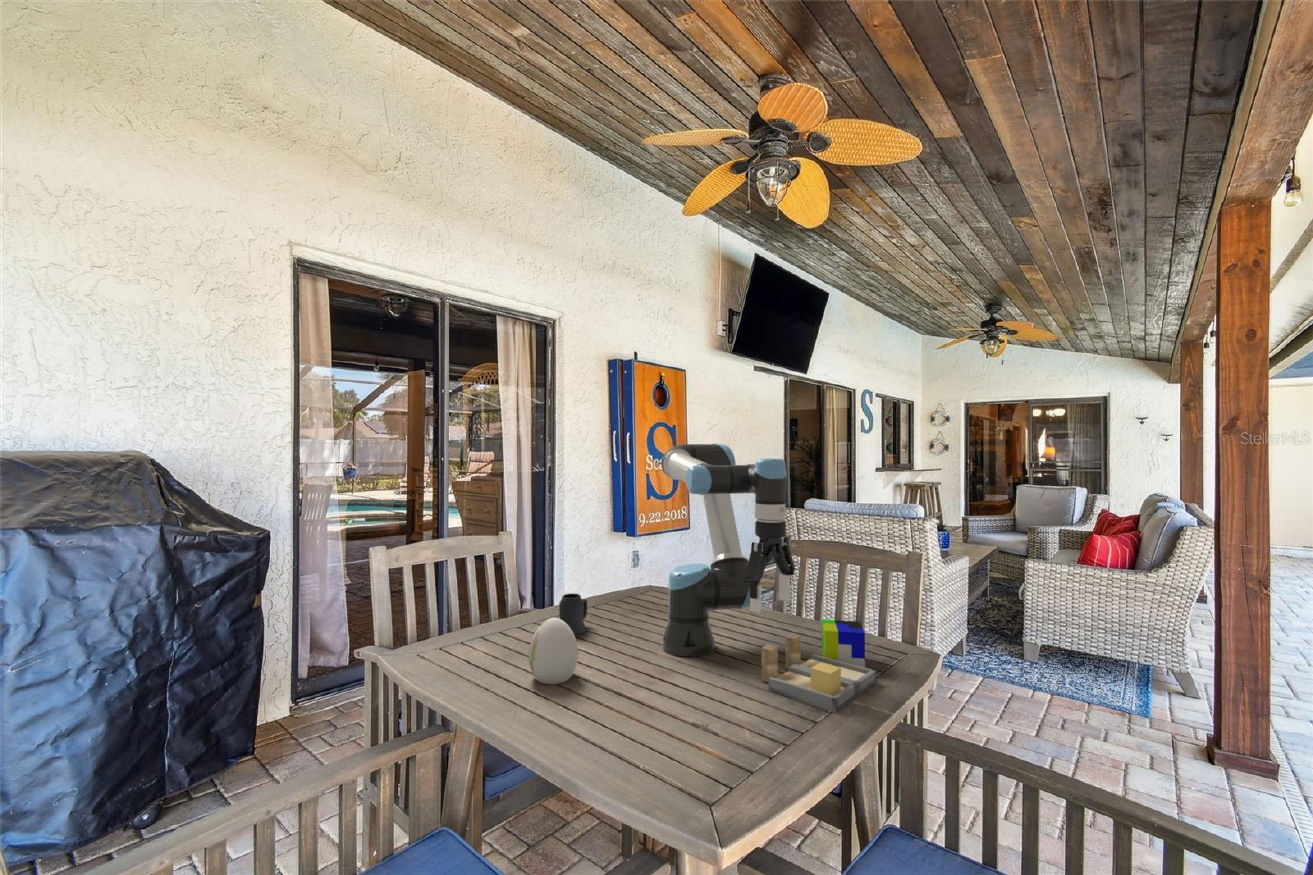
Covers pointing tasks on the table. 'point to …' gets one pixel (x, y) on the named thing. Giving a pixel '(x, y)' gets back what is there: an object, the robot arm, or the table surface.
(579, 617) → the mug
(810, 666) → the strip
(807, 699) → the board
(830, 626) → the puzzle toy
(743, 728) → the table surface
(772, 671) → the strip
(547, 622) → the decorative egg
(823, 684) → the cube
